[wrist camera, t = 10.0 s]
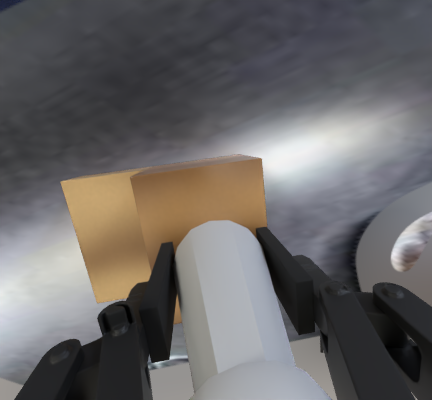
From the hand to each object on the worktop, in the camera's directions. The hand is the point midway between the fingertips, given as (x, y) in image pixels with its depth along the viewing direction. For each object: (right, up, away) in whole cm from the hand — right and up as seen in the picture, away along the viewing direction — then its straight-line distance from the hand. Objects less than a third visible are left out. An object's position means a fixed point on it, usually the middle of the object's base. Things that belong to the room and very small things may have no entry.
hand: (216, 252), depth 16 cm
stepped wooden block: (-5, +1, +8) cm, 10 cm away
